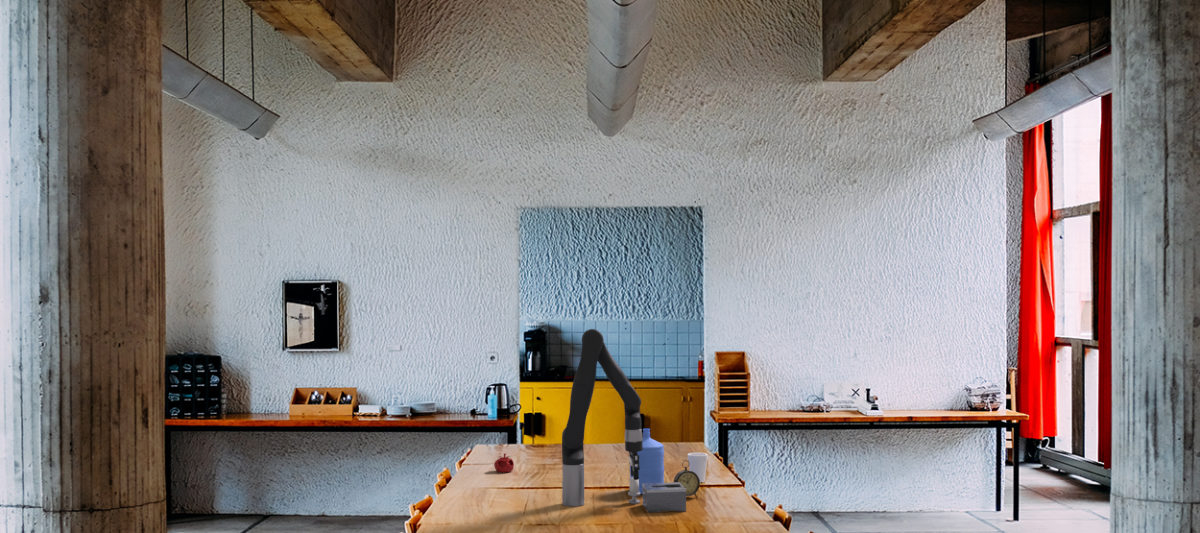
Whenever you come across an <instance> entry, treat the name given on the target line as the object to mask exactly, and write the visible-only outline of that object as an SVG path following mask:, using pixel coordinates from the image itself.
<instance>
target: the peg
mask: <svg viewBox="0 0 1200 533" xmlns="http://www.w3.org/2000/svg"><path fill="white" fill-rule="evenodd" d="M628 482H629V491H628V492H627V495H628V496H631V498H632V499H629V500H628V504H629V503H631V504H630V505H638V504H637V503H639V504H640V503H641V500H640V499H637V497H638V496H640V495H641V494H640V492H639V479H638V480H634V479H633V478H630V477H629V481H628Z"/></svg>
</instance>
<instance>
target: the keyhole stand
mask: <svg viewBox="0 0 1200 533" xmlns="http://www.w3.org/2000/svg"><path fill="white" fill-rule="evenodd" d="M642 490H643V494H642V506H643V508H644V507H645V508H644V509H645V511H646V510H647V511H646V512H647V513H663V512H662V511H667V512H668V511H677V512H687V496H686V489H685V488H684V486H683V485H682V484H681V483H680V482H674V481H673V482H672V481H671V482H664V483H642ZM667 512H666V513H667ZM668 513H669V512H668Z"/></svg>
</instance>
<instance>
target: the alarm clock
mask: <svg viewBox="0 0 1200 533" xmlns="http://www.w3.org/2000/svg"><path fill="white" fill-rule="evenodd" d="M685 462H687V463H688V466H684V463H685ZM682 467H683V468H684V469H683V470H680V471H679V472H677V473H676V474H675V476H674V478H673V482H680V483H681V484H682V485H683V486H684V488H685V489H686V497H691V496H695V497H696V498H698V495H697V492H698V490H699V489H700V484H701V483H700V480H699V477H698V476H697V474H696V473H694V472H693V471H690V469H689V470H688V468H689V462H688V459H685V460H683V462H682Z"/></svg>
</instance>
